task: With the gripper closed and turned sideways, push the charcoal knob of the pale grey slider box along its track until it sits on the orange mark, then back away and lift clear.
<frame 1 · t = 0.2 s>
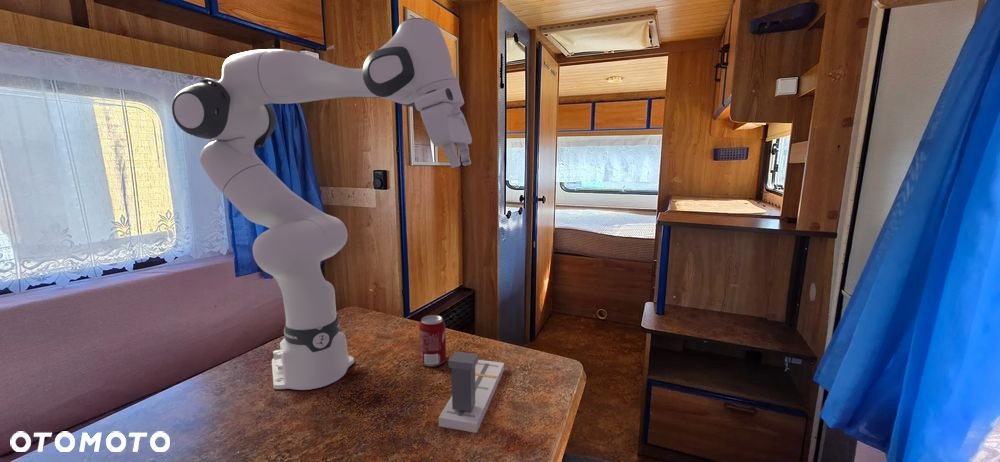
hand: (462, 166, 83), 52 cm above the table, tool tilted 15°, fingers open, 8 cm apart
soda can: (433, 362, 104), on the table
slider knob: (463, 382, 81), point 8 cm above the table, slide at -8.0 cm
slider box: (475, 394, 90), on the table
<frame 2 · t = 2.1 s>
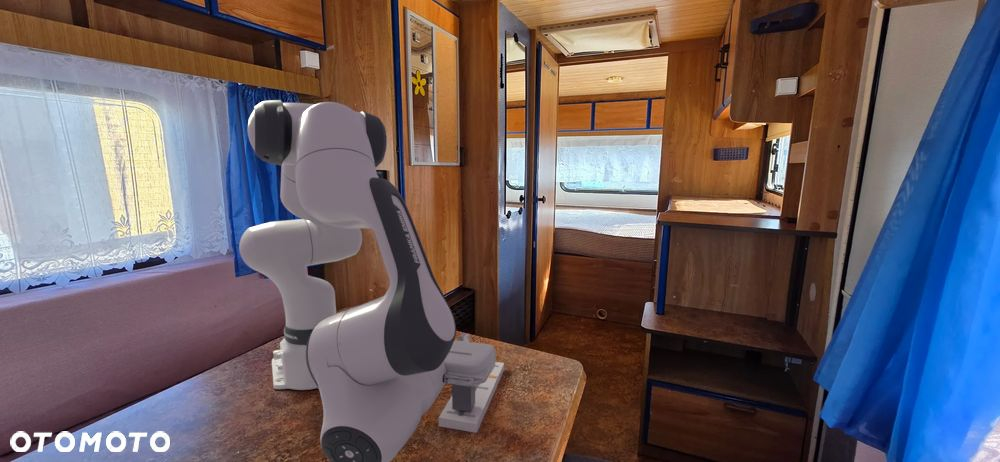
hand: (448, 335, 70), 22 cm above the table, tool horizontal, fingers open, 5 cm apart
nothing on the table moved.
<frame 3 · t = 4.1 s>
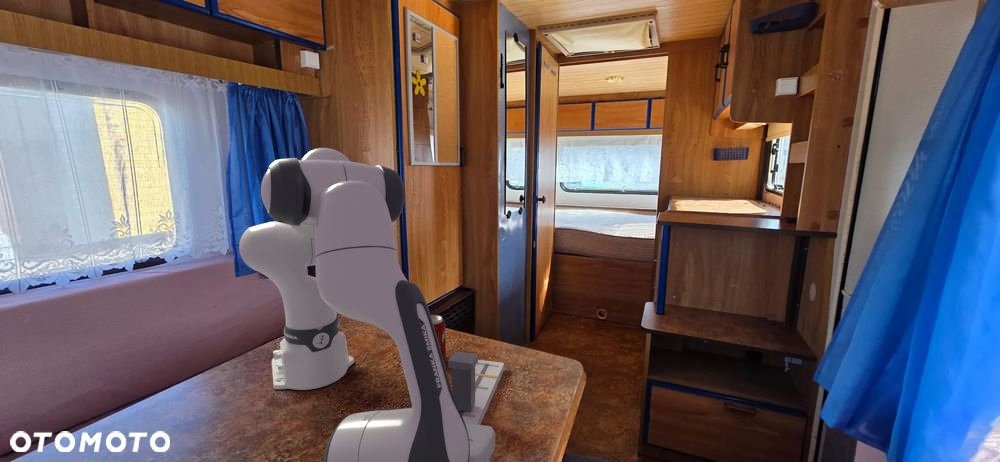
hand: (450, 409, 73), 7 cm above the table, tool horizontal, fingers closed
nothing on the table moved.
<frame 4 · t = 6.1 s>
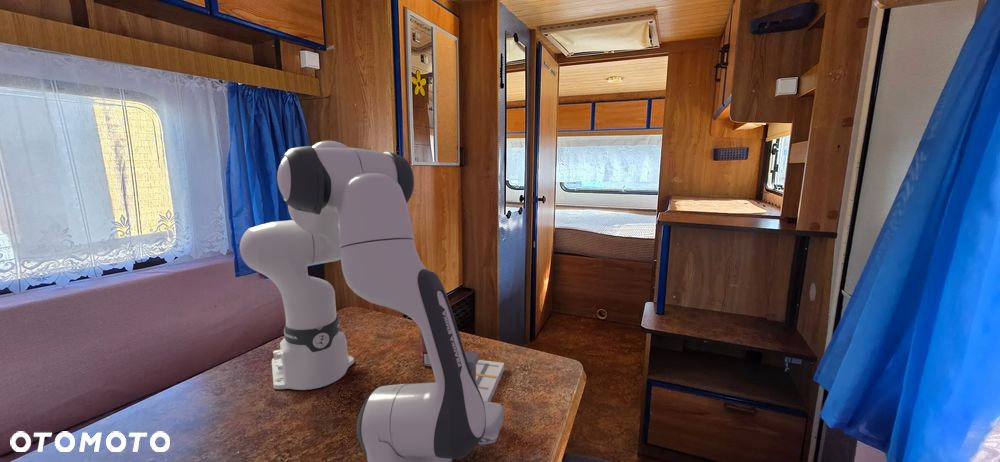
hand: (461, 389, 80), 7 cm above the table, tool horizontal, fingers closed, pressing on slider knob
slider knob: (464, 380, 81), point 8 cm above the table, slide at -7.5 cm, touching gripper
everything else where it was.
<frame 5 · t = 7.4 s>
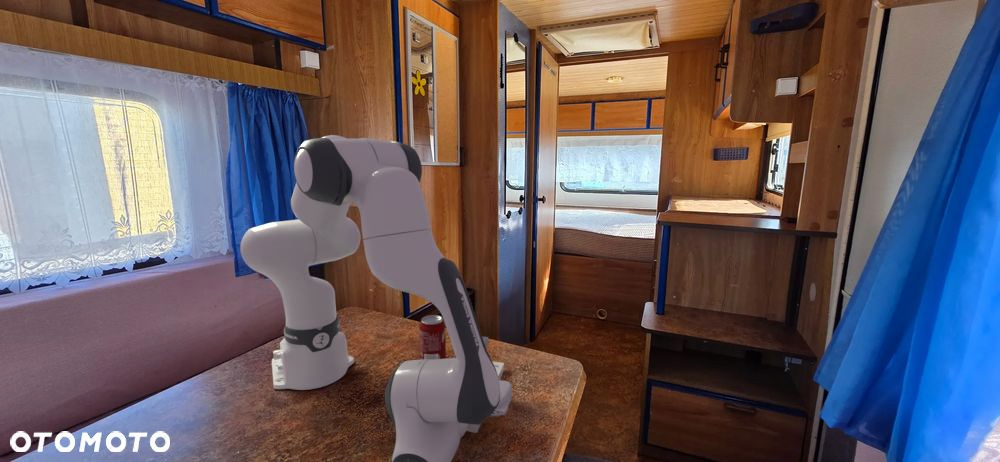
hand: (472, 370, 87), 7 cm above the table, tool horizontal, fingers closed, pressing on slider knob
slider knob: (475, 362, 88), point 8 cm above the table, slide at 0.0 cm, touching gripper
everything else where it was.
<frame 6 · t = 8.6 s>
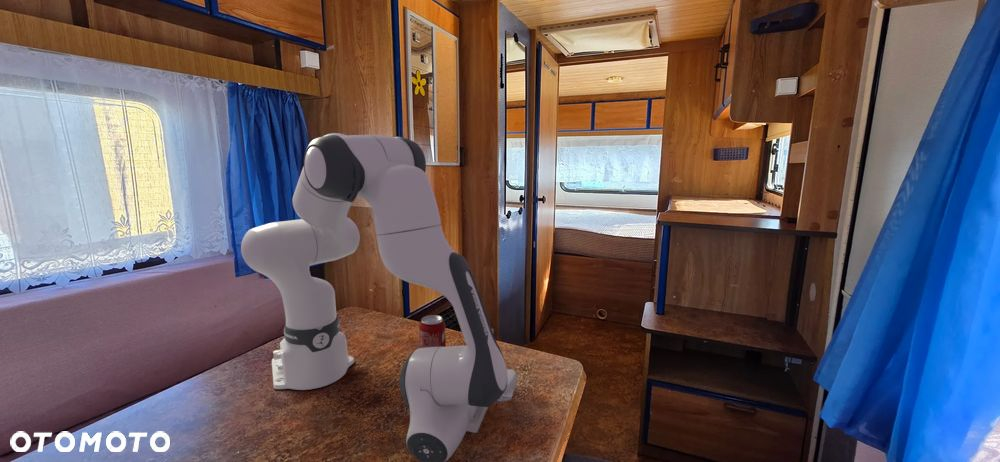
hand: (478, 360, 91), 7 cm above the table, tool horizontal, fingers closed, pressing on slider knob
slider knob: (480, 353, 93), point 8 cm above the table, slide at 4.6 cm, touching gripper
everything else where it was.
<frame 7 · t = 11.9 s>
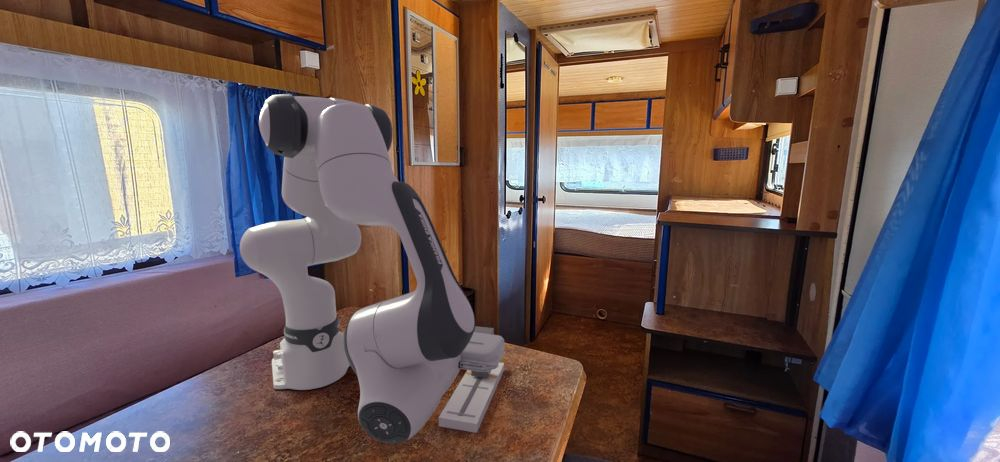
hand: (460, 326, 77), 20 cm above the table, tool horizontal, fingers closed
slider knob: (481, 352, 93), point 8 cm above the table, slide at 4.9 cm
everything else where it was.
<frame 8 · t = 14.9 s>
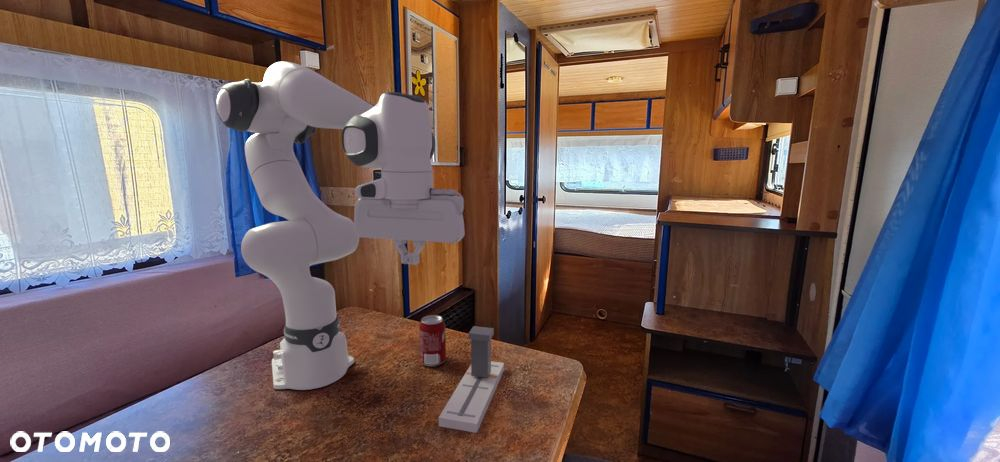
hand: (410, 263, 72), 34 cm above the table, tool pointing down, fingers closed
nothing on the table moved.
at the end: slider knob slide at 4.9 cm; the gripper is holding nothing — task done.
